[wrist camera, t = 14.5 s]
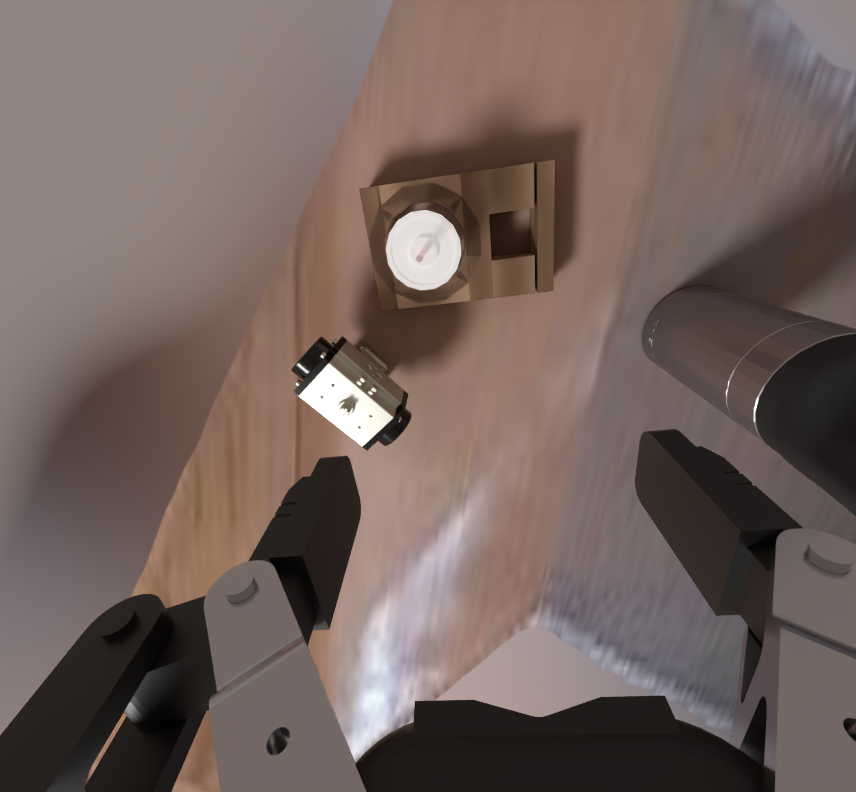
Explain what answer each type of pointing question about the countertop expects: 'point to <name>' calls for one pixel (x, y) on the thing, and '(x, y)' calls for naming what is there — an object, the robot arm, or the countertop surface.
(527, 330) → the countertop surface
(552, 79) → the countertop surface
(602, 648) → the countertop surface
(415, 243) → the beverage cup
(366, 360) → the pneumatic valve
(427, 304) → the socket block
